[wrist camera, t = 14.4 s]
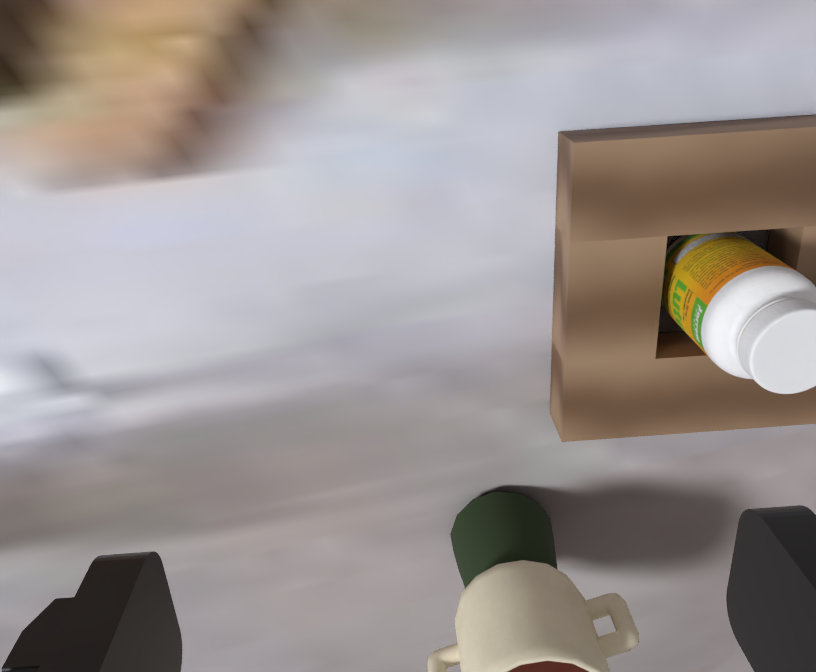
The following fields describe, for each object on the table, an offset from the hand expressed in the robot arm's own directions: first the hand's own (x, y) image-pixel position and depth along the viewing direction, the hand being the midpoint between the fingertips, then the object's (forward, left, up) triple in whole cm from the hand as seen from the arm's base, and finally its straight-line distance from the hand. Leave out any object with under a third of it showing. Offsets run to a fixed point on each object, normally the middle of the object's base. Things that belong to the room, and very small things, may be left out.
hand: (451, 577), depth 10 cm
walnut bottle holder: (+7, +16, -28) cm, 33 cm away
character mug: (+23, +5, -28) cm, 37 cm away
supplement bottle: (+7, +16, -28) cm, 33 cm away
